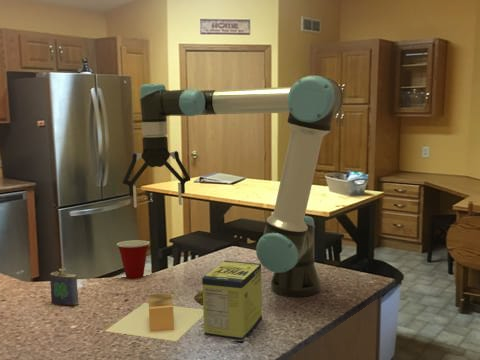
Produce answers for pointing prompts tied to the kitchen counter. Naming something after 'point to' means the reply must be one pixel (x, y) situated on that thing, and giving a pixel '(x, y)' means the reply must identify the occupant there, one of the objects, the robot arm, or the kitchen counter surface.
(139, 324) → the cream board
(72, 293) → the flask
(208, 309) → the protein box
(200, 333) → the kitchen counter surface
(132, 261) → the plastic cup
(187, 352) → the kitchen counter surface
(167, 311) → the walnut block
